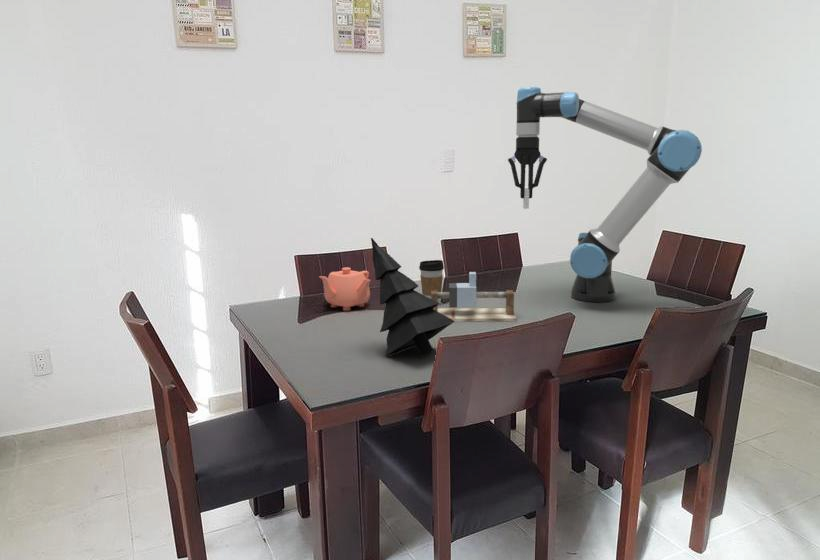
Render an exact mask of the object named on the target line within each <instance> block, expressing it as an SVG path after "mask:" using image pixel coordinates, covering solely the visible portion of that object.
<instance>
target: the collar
mask: <svg viewBox="0 0 820 560" xmlns="http://www.w3.org/2000/svg"><path fill="white" fill-rule="evenodd" d="M457 283H458V282H453V283H452V282H451V283H450V282H448V292H449V298H448V306H449V307H448V308H457Z"/></svg>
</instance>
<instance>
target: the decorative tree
mask: <svg viewBox="0 0 820 560" xmlns="http://www.w3.org/2000/svg"><path fill="white" fill-rule="evenodd" d="M370 240H371V248H372V262H373V266H374V276H375V281H379V305H384V304H385V307H384V311H383V318H382V324H381V328H380V331H379V333H382V332H386V331H388V333H387V336H386V351H385V355H384V357H388V356H392V355H395V354H398V353H400V352H403V351H406V350H408V349H412V348H415V347H416V349H417V351H418V354H419V355H420V357H424V356H426V355H428V354H430V353H431V352H434V349H433V346H432V345H431V343H430V340H431V339H433V338H434V337H436V336H437V335H438V334H440V333H441V332H442V331H443V330H445V329H446V328H447V327H449V326H450V325H453V323H455V321H453V320H452V319H450V318H448V317H447V316H445V315H443V314H441V313H439V312H437V311H436V310H434V309H433V308H434V307H436V306H437V305H438V304H440V305H441V302H440V303H438V302H436V301H434V300H432V299H430V298H428V297H426V296H424V295H423V294H422V293H420V292H418V291H416V289H417V288H419V284H418V283H416V282H415V281H414V280H413V279H412V278H410V277H408V276H407V275H406V274H404V273H402V271H399V270H400V269H401V268H402V266H401V264H400V263H398V261H396V259H394V258H393V257H392V256H391V255H390V254H389V253H388V252H386V251H385V250H384V249H383V248H382V247H381V246H379V245H378V243H377V241H375V240H374V238H373V237H371V238H370ZM438 306H439V305H438Z"/></svg>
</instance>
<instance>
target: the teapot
mask: <svg viewBox="0 0 820 560" xmlns="http://www.w3.org/2000/svg"><path fill="white" fill-rule="evenodd" d="M369 277H370V272H369V271H368V270H362V271H357V270H352V269H351V267H348V266H347V267H342V268H341V270H338V271H331V272H330V273H329V274H328V277H327V276H322V275H320V276H319V278H320V279H321V280H322V282H323V290H324V296H323V297H324V298H325V300H326V301H327V303H328V304H330V307H329V308H334V309H335V308H338V307H342V311H344V312H350V311H351V310H352V309H351V307H355V306H357V307H358V308H362V307H366V305H365V304H366V303H368V302H369V300H370V297H371V291H370V283H371V279H369Z"/></svg>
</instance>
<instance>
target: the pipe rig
mask: <svg viewBox="0 0 820 560" xmlns="http://www.w3.org/2000/svg"><path fill="white" fill-rule="evenodd" d="M438 298H441V299H449V291H441V292H437V291H431V299H432V300H434V301H436V302H438ZM476 299H505V307H503V308H502V307H500V308H499V307H496V308H495V307H494V308H493V307H492V308H491V307H490V308H489V307H488V308H487V307H486V308H483V307H480V308H479V307H464V308H449V307H448V308H447V307H446V308H445V307H443V308H441V307H440V308H438V307H439V305H437V306H436V307H434V308H433V309H434V310H436V311H437V312H439V313H441V314H443V315H445V316H447V317H448V318H450V319H452V320H453V321H455V322H456V323H458V322H460V323H462V322H463V323H465V322H470V323H472V322H473V323H475V322H474V321H484V322H486V321H487V322H486V323H490V322H491V323H493V322H505V323H506V322H517V321H518V320H517V319H518V318H517V315H516V314H515V292H514V290H513V289H511V290H509V289H507V290H505V291H476ZM455 322H454V323H455ZM484 322H483V323H484Z"/></svg>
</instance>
